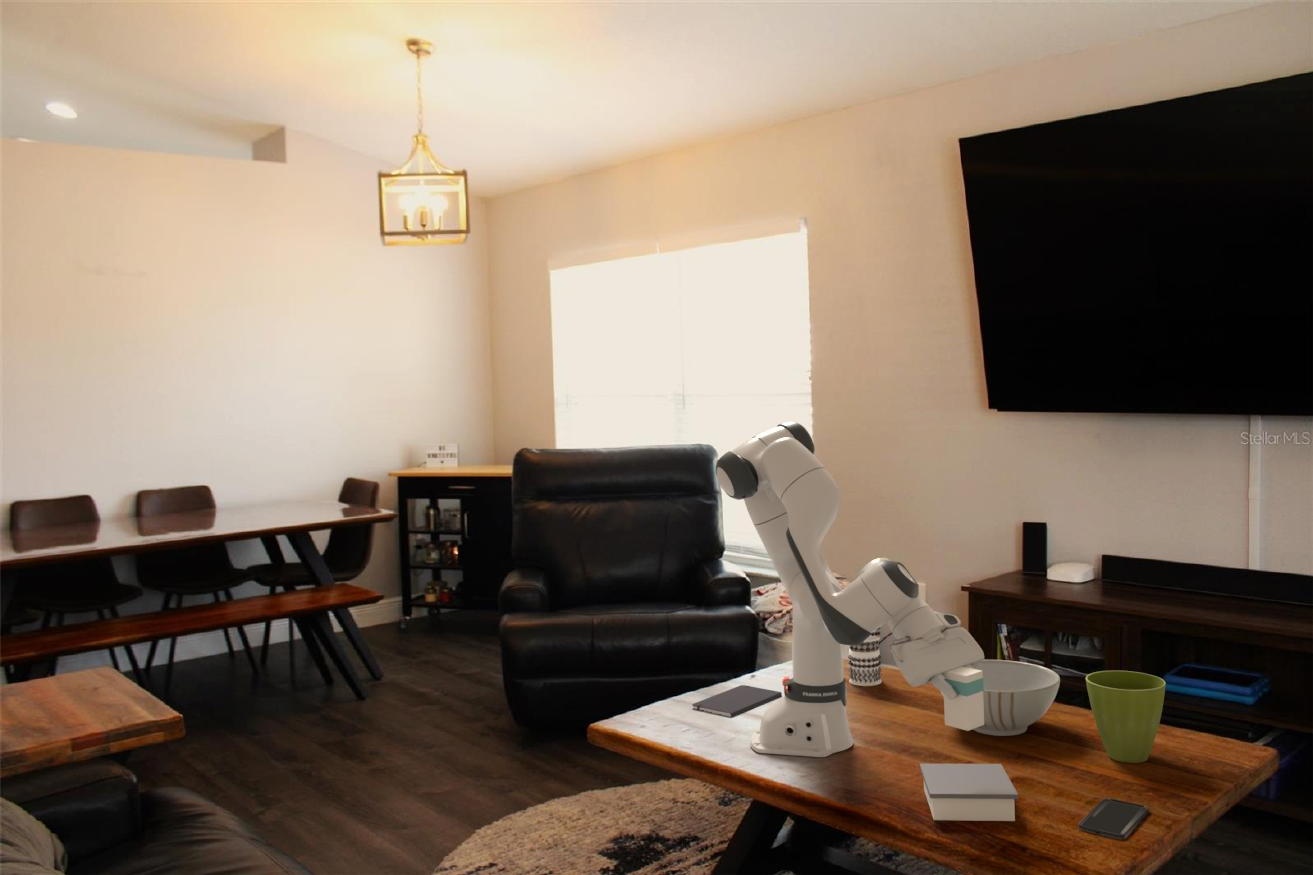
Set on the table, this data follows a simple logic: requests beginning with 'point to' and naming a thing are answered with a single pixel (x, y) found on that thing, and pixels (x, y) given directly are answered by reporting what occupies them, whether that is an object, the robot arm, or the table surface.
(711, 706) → the notebook
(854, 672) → the decorative candle
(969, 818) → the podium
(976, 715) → the carton
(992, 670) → the decorative bowl
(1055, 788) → the table surface
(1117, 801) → the phone
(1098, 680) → the flower pot
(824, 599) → the robot arm
